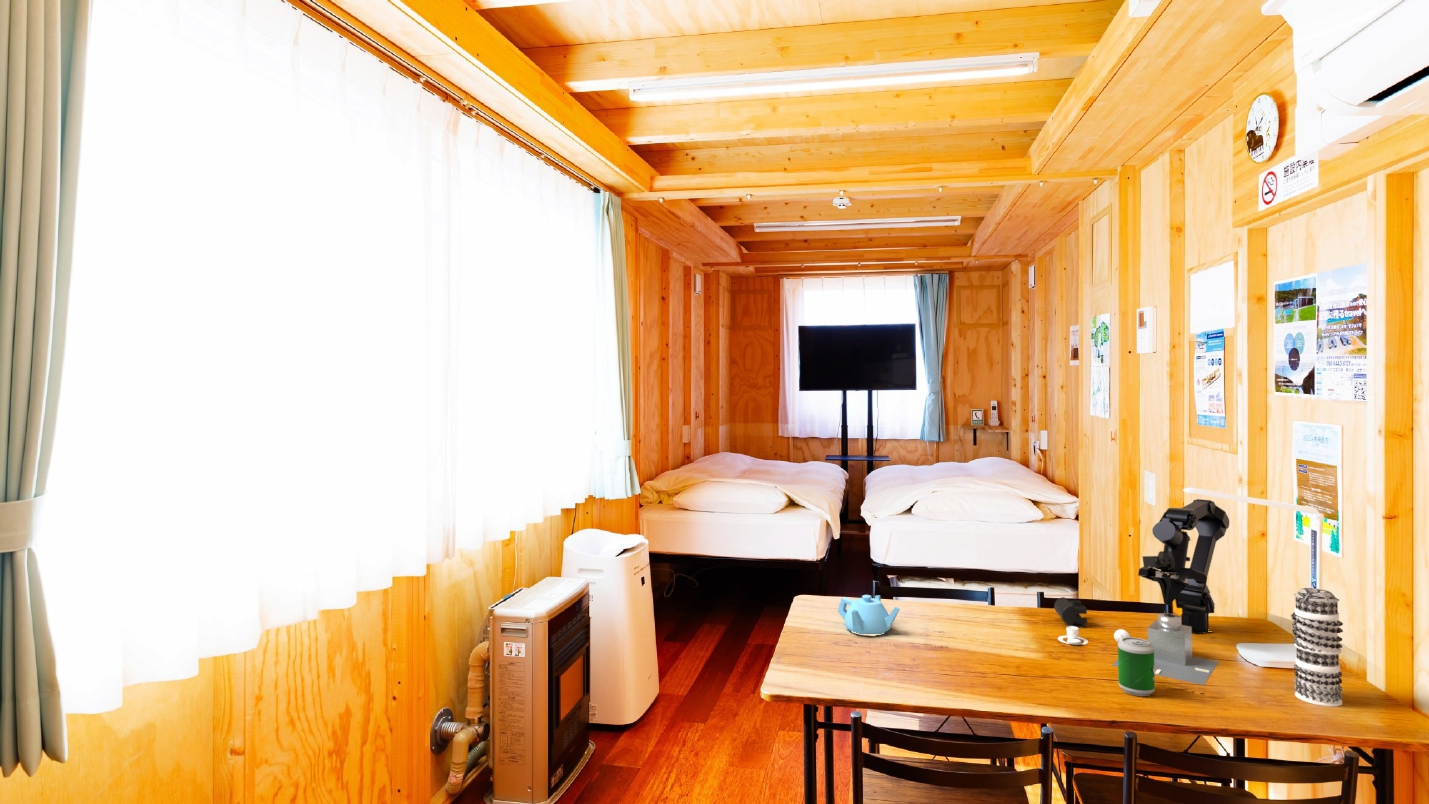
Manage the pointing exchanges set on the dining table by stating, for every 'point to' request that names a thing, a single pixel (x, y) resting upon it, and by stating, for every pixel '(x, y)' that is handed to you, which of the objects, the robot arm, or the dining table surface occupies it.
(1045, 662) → the dining table surface
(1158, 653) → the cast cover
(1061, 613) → the end cap
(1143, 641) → the soda can
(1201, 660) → the turntable plate
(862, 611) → the teapot
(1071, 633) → the teacup and saucer
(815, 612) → the dining table surface
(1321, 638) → the decorative candle
